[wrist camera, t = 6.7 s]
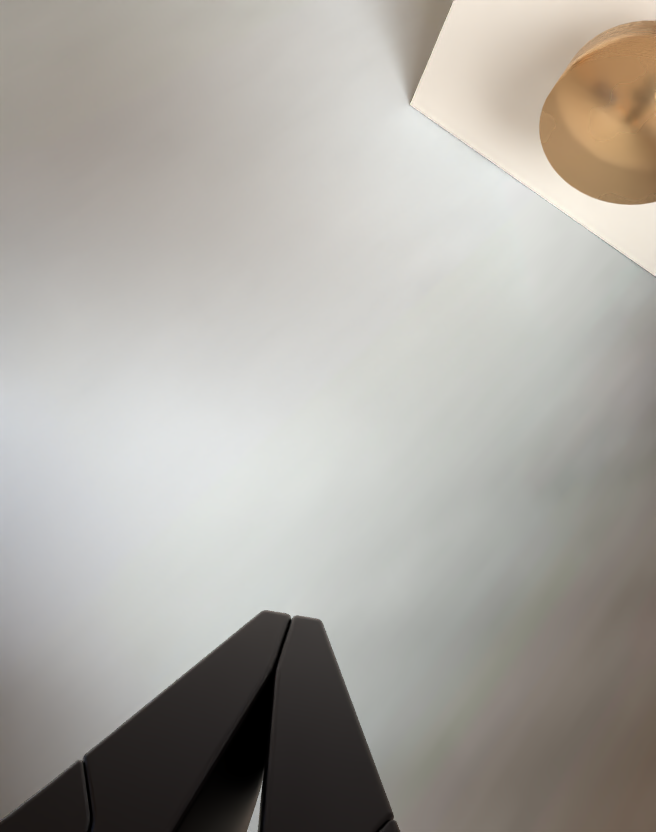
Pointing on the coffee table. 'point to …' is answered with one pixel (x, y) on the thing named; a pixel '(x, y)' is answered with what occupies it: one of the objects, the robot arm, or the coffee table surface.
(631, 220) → the press block
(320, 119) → the coffee table surface
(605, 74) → the plunger
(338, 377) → the coffee table surface
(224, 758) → the robot arm
